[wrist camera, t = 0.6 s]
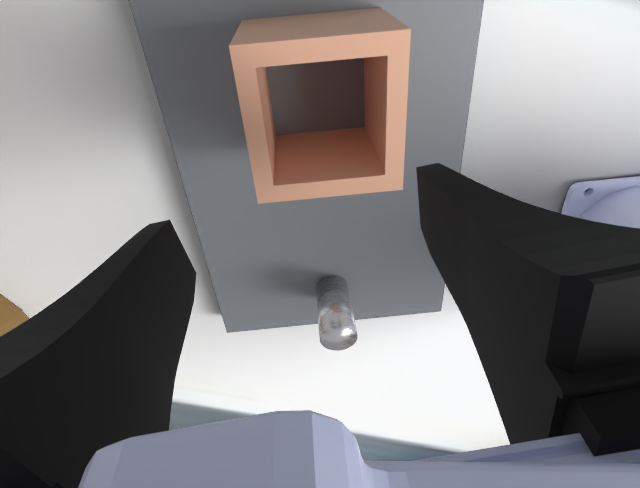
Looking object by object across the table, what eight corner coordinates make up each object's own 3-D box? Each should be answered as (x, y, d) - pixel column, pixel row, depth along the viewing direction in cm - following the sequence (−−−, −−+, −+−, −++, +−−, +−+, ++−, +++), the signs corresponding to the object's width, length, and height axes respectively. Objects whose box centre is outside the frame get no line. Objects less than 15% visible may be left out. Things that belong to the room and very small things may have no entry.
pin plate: (478, -70, 17) (547, -72, 12) (434, 295, 29) (461, 360, 24) (129, -39, 17) (73, -30, 12) (229, 316, 29) (219, 385, 24)
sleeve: (380, 7, 17) (410, 29, 13) (379, 139, 20) (403, 189, 16) (242, 19, 17) (228, 45, 13) (263, 150, 20) (257, 203, 16)
